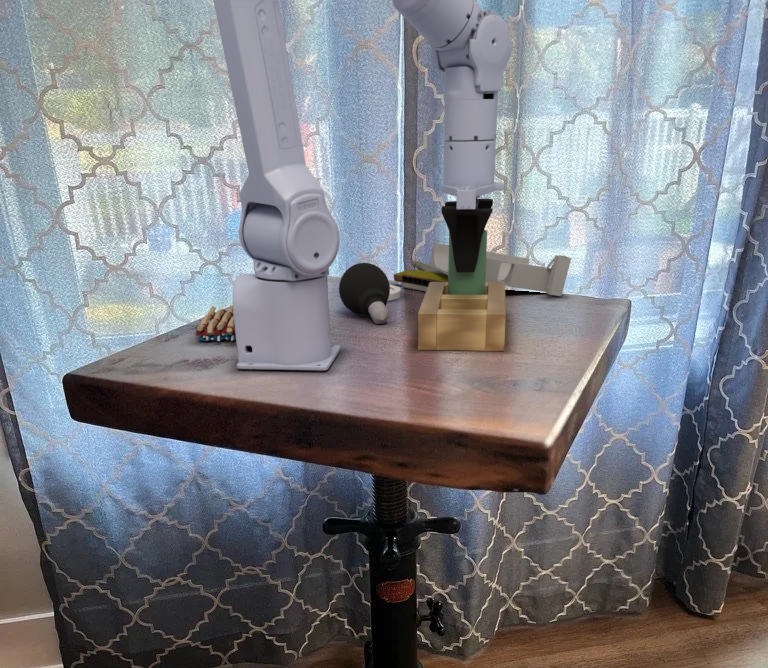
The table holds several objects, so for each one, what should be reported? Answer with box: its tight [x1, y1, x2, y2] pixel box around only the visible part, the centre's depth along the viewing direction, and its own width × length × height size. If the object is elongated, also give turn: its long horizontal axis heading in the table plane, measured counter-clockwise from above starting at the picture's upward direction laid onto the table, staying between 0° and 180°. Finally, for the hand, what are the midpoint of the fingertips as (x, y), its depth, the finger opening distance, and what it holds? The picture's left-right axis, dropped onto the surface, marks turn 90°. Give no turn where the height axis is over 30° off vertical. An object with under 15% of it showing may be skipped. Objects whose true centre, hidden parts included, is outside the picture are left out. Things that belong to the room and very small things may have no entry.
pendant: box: [387, 284, 402, 302], centre depth 111 cm, size 7×11×1 cm, turn 34°
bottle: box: [448, 198, 488, 295], centre depth 91 cm, size 4×4×10 cm
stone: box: [411, 260, 445, 274], centre depth 120 cm, size 13×2×5 cm
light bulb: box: [338, 262, 391, 325], centre depth 97 cm, size 6×6×10 cm
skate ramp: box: [428, 238, 572, 297], centre depth 109 cm, size 15×13×5 cm
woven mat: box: [195, 304, 236, 343], centre depth 93 cm, size 10×11×2 cm
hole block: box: [417, 282, 507, 352], centre depth 91 cm, size 9×17×4 cm, turn 173°
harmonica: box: [393, 269, 448, 293], centre depth 111 cm, size 15×3×2 cm, turn 41°
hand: (466, 267), depth 92 cm, fingers closed on bottle, 4 cm apart
